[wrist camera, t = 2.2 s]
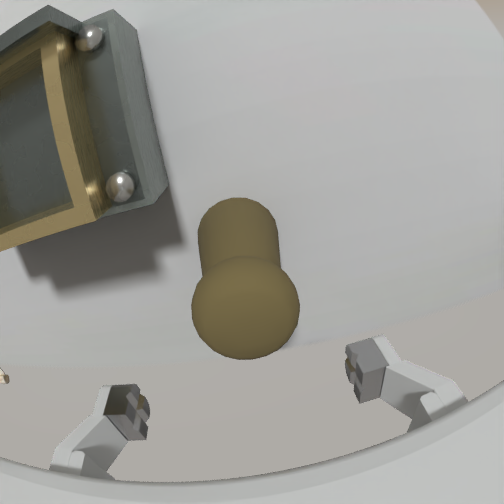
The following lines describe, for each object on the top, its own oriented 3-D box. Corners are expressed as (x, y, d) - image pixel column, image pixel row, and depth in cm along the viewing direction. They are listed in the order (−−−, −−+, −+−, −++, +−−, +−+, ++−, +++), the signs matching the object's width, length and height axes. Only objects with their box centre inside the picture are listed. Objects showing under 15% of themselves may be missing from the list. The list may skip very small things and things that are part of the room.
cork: (236, 285, 25) (244, 392, 15) (180, 235, 23) (151, 330, 13) (293, 237, 23) (340, 329, 13) (240, 180, 21) (253, 241, 11)
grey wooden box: (136, 29, 16) (85, -14, 8) (169, 184, 21) (134, 229, 13) (-20, 111, 16) (-92, 125, 8) (11, 233, 21) (-49, 283, 13)
